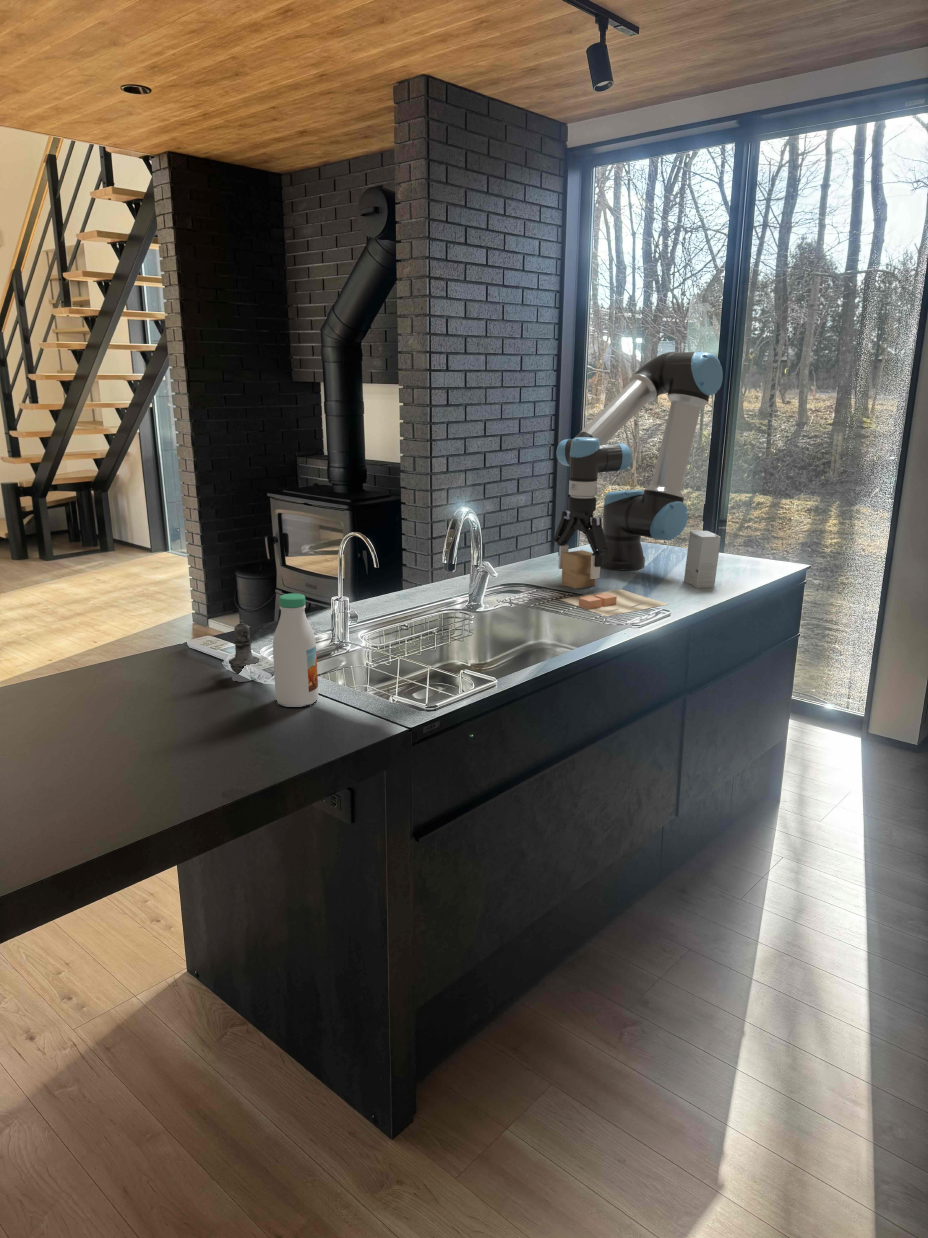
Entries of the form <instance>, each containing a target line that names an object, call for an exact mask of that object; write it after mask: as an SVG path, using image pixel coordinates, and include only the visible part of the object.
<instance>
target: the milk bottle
mask: <svg viewBox="0 0 928 1238" xmlns="http://www.w3.org/2000/svg"><path fill="white" fill-rule="evenodd" d="M306 602H307V601H306V596H305V595H304V594H301V593H292V592H291V593H286V594H285V593H284V594H282V595H280V596H279V597H278V605H279V607H278V608H279V610H280V617H279V620H278V624H277V626H276V628H275V631H274V634H273V641H272V655H273V676H274V679H273V680H274V692H275V693H274V695H275V696H274V697H275V701H276V700H277V701H278V702H280V703H282V704H287V705H304V704H310V703H313V702H315V701H316V700H317V699H318V700H319V680H318V678H319V676H318V675H319V673H318V659H317V658H318V657H317V655H318V654H317V653H318V652H317V644H316V643H317V641H316V636H315V633H314V630H313V628H312V626H311V624H310V622H309V620H308V618H307V615H306V611H305V610H306V609H305V608H306ZM318 700H317V701H318Z"/></svg>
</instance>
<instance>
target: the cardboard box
mask: <svg viewBox="0 0 928 1238" xmlns="http://www.w3.org/2000/svg"><path fill="white" fill-rule="evenodd" d="M592 554H593V552H592V551H591V552H590V551H588V550H587V551H586V550H583V549H582V550H574V551H568V552H565V553H563V560H562V569H561V583H560V584H561V587H563V586H567V587H570V588H573V589H579V588H580V589H581V588H587V587H593V586H596V578H595V579H590V571H591V555H592Z"/></svg>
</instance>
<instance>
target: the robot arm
mask: <svg viewBox="0 0 928 1238" xmlns="http://www.w3.org/2000/svg"><path fill="white" fill-rule="evenodd" d="M723 373H724V371H723V367H722V365H721V362H720V360H719V358H718V357H717V356H716V355H715V354H713V353H711V352H705V351H704V352H703V351H700V350H699V351H685V352H683V351H680V352H679V351H677V352H675V351H670V352H669V351H668V352H665V353H662V354H660V355H658V356H655V357H654V358H652V359H651V360H649V361H647V362H646V363H645V364H643V365H642V366H641V367H640V368H638V370H636V371H635V372H634V373H633V374H632V375H631V377H630V378H629V381H628V384H627V385H626V386H625V387H624V388H623V389H622V390H621V391H620V392H619V393H618V394H617V395H616V396H615V397H614V398H613V399H612V400H611V401H610V402H609V403H608V404H607V405H606V406H605V407H604V408H603V409H602V410H601V411H600V412H599V413H598V414H597V415H596V416H595V417H594V418H593V419H592V420H591V421H590V422H589V423H588V424H587V425H586V426H585V427H584V428H583V429H582V430H581V431H580V432H579V433H578V434H576V436H575V437H574V438H568V439H563V440H561V441H560V442H559V444H558V445H557V448H556V452H555V453H556V458H557V461H558V462H559V463H560V464H561V465H563V466H566V467H569V472H568V473H569V476H568V477H569V479H568V480H569V481H568V495H570V496H568V499H567V509H568V510H563V511H562V512H561V518H560V520H559V523H558V526H557V529H556V531H555V534H554V537H553V539H552V540H553V542H554V543H557V546H558V549H557V551H558V553H557V554H558V567H557V569H559V570H562V560H563V553H565V552H569V547H570V546H569V543H568V542H569V541H570V540H571V538H572V537H573V535H574V534H575V532H576V531H579V532H582V534H583V535H585V537H586V539H587V542H588V544H589V547H590V549H591V552H592V553H593V554H592V555H591V571H590V579H595V580H596V579H600V575H601V574H600V573H601V569H607V570H616V571H634V570H635V571H636V570H640V569H643V568H645V566H646V564H645V562H646V558H645V556H644V549H643V545H642V541H641V538H642V537H646V538H649V539H653V540H657V541H672V540H674V539H676V538H677V537H679V536H680V535H681V534H682V533H683V532H684V530H685V528H686V526H687V523H688V520H689V512H688V509H689V508H688V507H687V505H686V504H685V503H684V500H685V496H684V495H683V492H682V485H683V482H684V478H685V475H686V470H687V466H688V462H689V458H690V454H691V451H692V446H693V441H694V438H695V435H696V429H697V425H698V421H699V418H700V414H701V410H702V408H703V407H705V406H706V405H708V404H709V399H710V396H713V395H715V394H717V393H718V391H720V389H721V387H722V383H723V379H724V377H723ZM664 394H667V398H668V400H669V402H670V406H669V411H668V414H667V419H666V423H665V427H664V431H663V435H662V439H661V443H660V447H659V450H658V451H659V452H658V455H657V460H656V465H655V467H654V472H653V475H652V480H651V484H650V485H649V486H647V487H646V488H645V489H644V490H641V489H630V490H629V489H628V490H617V491H616V490H615V491H614V490H613V491H609V492H607V493H606V494H605V495H604V502H603V509H602V510H603V511H602V513H603V514H602V517H601V516H598V517H597V516H596V517H594V512H595V511H596V509H597V498H596V496H597V494H598V475H599V473H609V472H621V471H624V470H627V469H628V468H629V467H630V466H631V463H632V459H633V457H632V456H633V454H632V451H631V448H630V447H629V446H628V444H625V443H619V442H615V443H608V442H609V441H610V440H611V439H612V438H613V437H615V435H616V434H617V433H618V432H619V431H620V430H621V429H622V428H623V426H625V425H626V424H627V423H628V422H629V421H630V420H631V419H632V418H633V417H634V416H635V415H636V414H637V413H638V412H639V411H640V410H641V409H642V408H643V407H644V406H645V405H646V404H647V403H650V402H653V401H654V400H655V399H656V398H657V397H659V396H661V395H664Z"/></svg>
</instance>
